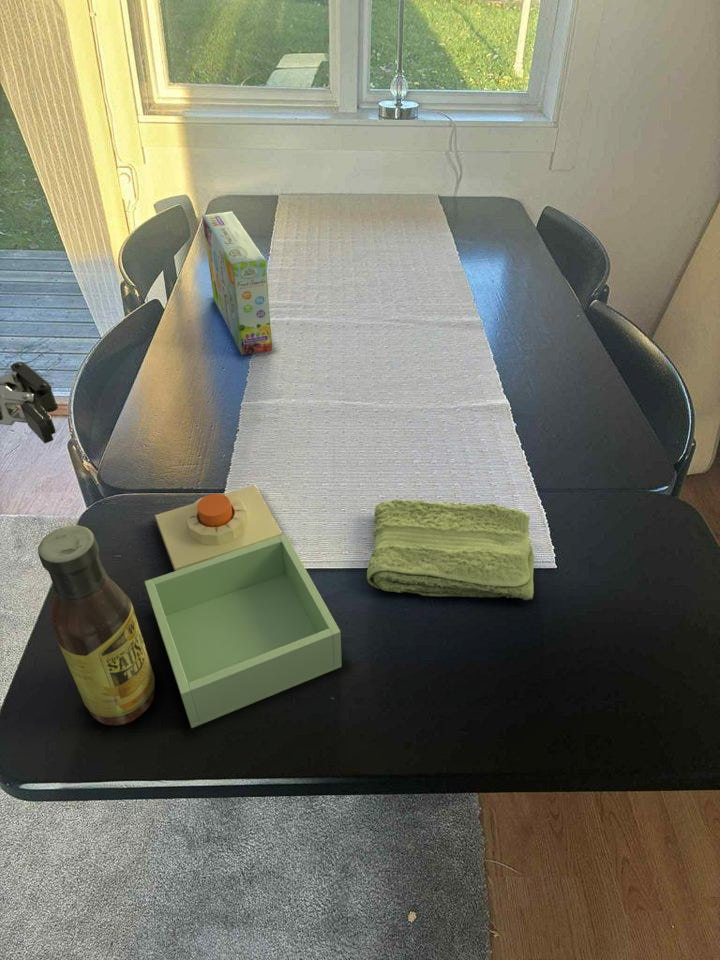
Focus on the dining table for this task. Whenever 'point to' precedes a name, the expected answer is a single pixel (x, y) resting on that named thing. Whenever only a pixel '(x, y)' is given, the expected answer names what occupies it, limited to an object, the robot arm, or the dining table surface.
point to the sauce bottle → (96, 628)
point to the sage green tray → (243, 628)
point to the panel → (216, 529)
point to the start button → (214, 510)
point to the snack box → (238, 282)
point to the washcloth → (451, 550)
